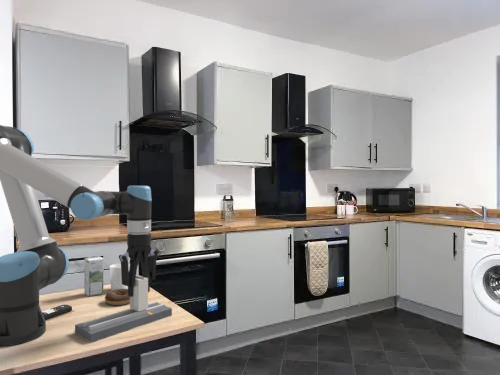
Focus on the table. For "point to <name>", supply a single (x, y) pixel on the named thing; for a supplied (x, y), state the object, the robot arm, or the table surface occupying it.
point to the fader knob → (141, 294)
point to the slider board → (121, 322)
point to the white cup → (116, 277)
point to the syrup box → (94, 275)
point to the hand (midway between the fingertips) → (138, 304)
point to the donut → (117, 297)
